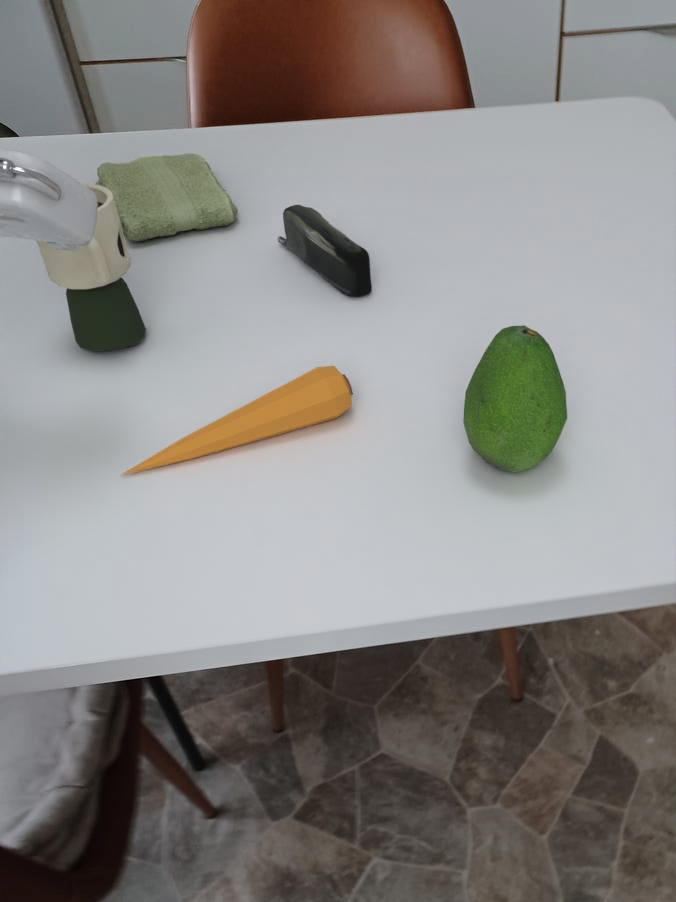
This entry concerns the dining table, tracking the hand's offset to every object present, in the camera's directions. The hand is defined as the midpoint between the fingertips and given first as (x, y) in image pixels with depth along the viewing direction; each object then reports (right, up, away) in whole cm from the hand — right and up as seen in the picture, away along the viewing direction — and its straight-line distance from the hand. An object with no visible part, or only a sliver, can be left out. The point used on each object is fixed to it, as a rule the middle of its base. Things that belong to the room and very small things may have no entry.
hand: (13, 234), depth 74 cm
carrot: (+16, -15, +6) cm, 22 cm away
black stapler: (+20, +7, +25) cm, 33 cm away
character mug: (+2, -3, +16) cm, 16 cm away
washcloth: (+1, +18, +35) cm, 39 cm away
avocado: (+39, -17, +4) cm, 42 cm away
